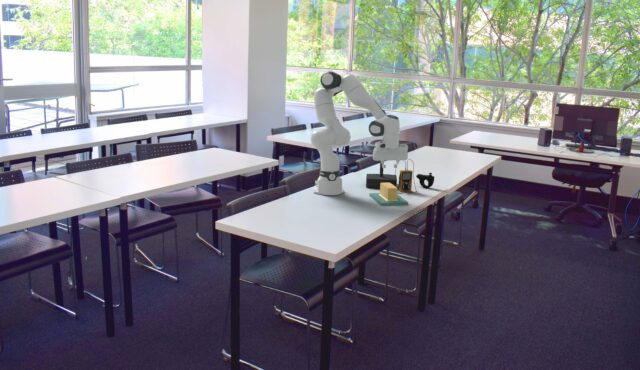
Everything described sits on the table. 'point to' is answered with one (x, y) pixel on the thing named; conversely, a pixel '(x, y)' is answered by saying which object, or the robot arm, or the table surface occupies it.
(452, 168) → the table surface
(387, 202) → the board
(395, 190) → the block
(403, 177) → the multimeter
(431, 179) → the controller
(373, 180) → the black block with post
